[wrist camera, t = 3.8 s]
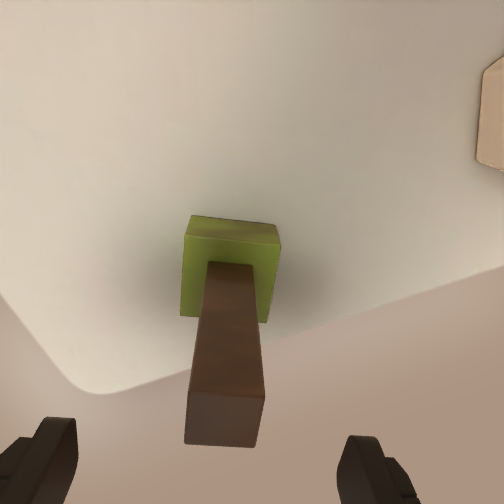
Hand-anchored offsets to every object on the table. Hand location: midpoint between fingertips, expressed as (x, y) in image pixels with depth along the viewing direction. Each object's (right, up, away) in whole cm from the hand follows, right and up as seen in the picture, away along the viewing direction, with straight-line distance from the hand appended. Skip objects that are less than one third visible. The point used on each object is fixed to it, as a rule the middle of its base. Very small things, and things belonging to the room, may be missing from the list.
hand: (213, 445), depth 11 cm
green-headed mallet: (0, +5, +12) cm, 13 cm away
